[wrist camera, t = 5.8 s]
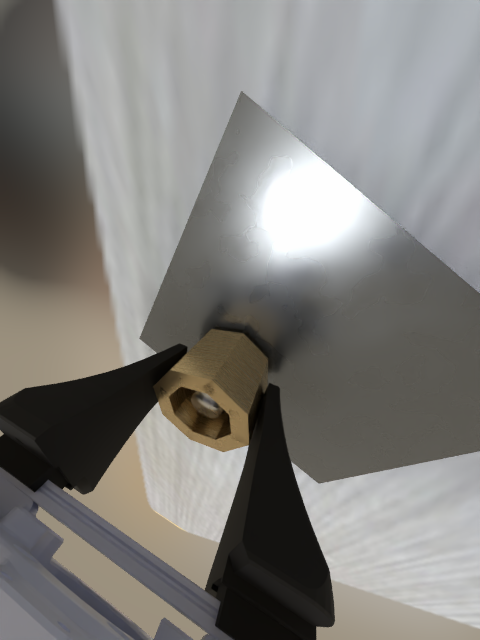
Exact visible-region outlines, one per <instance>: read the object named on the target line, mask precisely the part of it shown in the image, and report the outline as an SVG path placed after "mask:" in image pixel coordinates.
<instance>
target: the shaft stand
mask: <svg viewBox="0 0 480 640" xmlns="http://www.w3.org/2000/svg"><path fill="white" fill-rule="evenodd" d="M211 329H216V330H223V331H230V332H237V333H244V334H245V335H246V336H247V337H248V338H249V340H250V341H251V342H252V343H253V344H254V345H255V346H256V347H257V348H258V349H259V350H260V351H261V352H262V353H263V354H264V355H265V356H266V357H267V358H268V384H269V383H271V384H274V385H276V386H278V387H279V388H280V403H281V413H282V420H283V427H284V433H285V438H286V443H287V448H288V452H289V456H290V460H291V461H292V462H293V463H294V464H295V465H297V466H298V467H299V468H300V469H301V470H303V471H304V472H305V473H306V474H308V475H309V476H310V477H311V478H313V479H314V480H315V481H316V482H318V483H324V482H329V481H334V480H339V479H344V478H349V477H354V476H359V475H364V474H368V473H373V472H378V471H383V470H388V469H393V468H398V467H403V466H408V465H413V464H418V463H423V462H428V461H433V460H438V459H443V458H448V457H453V456H458V455H463V454H468V453H473V452H478V451H480V294H479V293H478V292H477V291H476V290H475V289H474V288H472V287H471V286H470V285H469V284H468V283H466V282H465V281H464V280H463V279H462V278H461V277H459V276H458V275H457V274H456V273H455V272H454V271H452V270H451V269H450V268H449V267H448V266H447V265H445V264H444V263H443V262H442V261H441V260H439V259H438V258H437V257H436V256H435V255H434V254H432V253H431V252H430V251H429V250H428V249H427V248H425V247H424V246H423V245H422V244H421V243H419V242H418V241H417V240H416V239H415V238H414V237H412V236H411V235H410V234H409V233H408V232H407V231H405V230H404V229H403V228H402V227H401V226H400V225H398V224H397V223H396V222H395V221H394V220H392V219H391V218H390V217H389V216H388V215H387V214H385V213H384V212H383V211H382V210H381V209H380V208H378V207H377V206H376V205H375V204H374V203H372V202H371V201H370V200H369V199H368V198H367V197H365V196H364V195H363V194H362V193H361V192H360V191H358V190H357V189H356V188H355V187H354V186H353V185H351V184H350V183H349V182H348V181H347V180H345V179H344V178H343V177H342V176H341V175H340V174H338V173H337V172H336V171H335V170H334V169H333V168H331V167H330V166H329V165H328V164H327V163H325V162H324V161H323V160H322V159H321V158H320V157H318V156H317V155H316V154H315V153H314V152H313V151H311V150H310V149H309V148H308V147H307V146H306V145H304V144H303V143H302V142H301V141H300V140H298V139H297V138H296V137H295V136H294V135H293V134H291V133H290V132H289V131H288V130H287V129H286V128H284V127H283V126H282V125H281V124H280V123H278V122H277V121H276V120H275V119H274V118H273V117H271V116H270V115H269V114H268V113H267V112H266V111H264V110H263V109H262V108H261V107H260V106H259V105H257V104H256V103H255V102H254V101H253V100H251V99H250V98H249V97H248V96H247V95H246V94H244V93H243V92H242V91H241V93H240V95H239V98H238V100H237V103H236V105H235V108H234V110H233V113H232V115H231V117H230V120H229V122H228V125H227V127H226V130H225V132H224V134H223V137H222V139H221V142H220V144H219V147H218V149H217V151H216V154H215V156H214V159H213V161H212V164H211V166H210V168H209V171H208V173H207V176H206V178H205V181H204V183H203V185H202V188H201V190H200V193H199V195H198V198H197V200H196V202H195V205H194V207H193V210H192V212H191V215H190V217H189V219H188V222H187V224H186V227H185V229H184V232H183V234H182V236H181V239H180V241H179V244H178V246H177V249H176V251H175V253H174V256H173V258H172V261H171V263H170V266H169V268H168V270H167V273H166V275H165V278H164V280H163V283H162V285H161V287H160V290H159V292H158V295H157V297H156V300H155V302H154V304H153V307H152V309H151V312H150V314H149V317H148V319H147V321H146V324H145V326H144V329H143V331H142V334H141V336H140V338H139V339H141V340H142V341H143V342H144V343H146V344H147V345H148V346H149V347H151V348H152V349H153V350H154V351H155V352H157V353H159V352H161V351H164V350H166V349H168V348H170V347H172V346H175V345H177V344H179V343H180V344H183V345H185V346H187V347H188V348H187V352H188V351H189V350H190V349H191V348H192V347H193V346H194V345H196V344H197V343H198V342H199V341H200V340H201V339H202V338H203V337H204V336H205V335H206V334H207V333H208V332H209V331H210V330H211ZM267 387H268V386H267ZM191 402H192V405H193V406H194V408H195V409H196V410H197V411H198V412H199V413H201V414H202V415H204V416H206V417H210V418H217V417H219V416H220V415H221V413H222V411H223V408H222V407H221V406H219V405H218V404H217V403H216V402H215V401H214V400H213V399H212V398H211V397H210V396H209V395H208V394H206V393H203V392H199V391H195V392H194V394H193V395H192V397H191Z"/></svg>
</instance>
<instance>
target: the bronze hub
mask: <svg viewBox="0 0 480 640" xmlns="http://www.w3.org/2000/svg"><path fill="white" fill-rule="evenodd" d="M267 386H268V358H267V357H266V356H265V355H264V354H263V353H262V352H261V351H260V350H259V349H258V348H257V347H256V346H255V345H254V344H253V343H252V342H251V341H250V340H249V338H248V337H247V336H246V335H245V334H244V333H237V332H230V331H223V330H216V329H211V330H210V331H209V332H208V333H207V334H206V335H205V336H204V337H203V338H202V339H201V340H200V341H199V342H198V343H197V344H196V345H194V346H193V347H192V348H191V349H190V350H189V351H188V352H187V354H186V355H185V356H184V357H183V358H182V359H181V360H180V361H179V362H178V363H177V364H176V365H175V366H174V367H173V368H171V369H170V370H169V371H168V372H167V373H166V374H165V375H164V376H163V377H162V378H161V379H160V380H159V381H158V382H157V383H156V384H155V385H154V386H153V388H154V391H155V394H156V397H157V399H158V402H159V405H160V408H161V411H162V414H163V415H164V416H165V417H166V418H167V419H168V420H169V421H171V422H172V423H173V424H174V425H175V426H176V427H177V428H178V429H179V430H180V431H181V432H182V433H184V434H185V435H186V436H187V437H188V438H189V439H191V440H193V441H196V442H198V443H201V444H204V445H206V446H209V447H211V448H214V449H217V450H219V451H222V452H225V451H229V450H233V449H236V448H240V447H243V446H247V445H250V441H251V438H252V435H253V432H254V428H255V425H256V422H257V418H258V414H259V410H260V406H261V403H262V399H263V396H264V393H265V391H266V389H267ZM195 391H199V392H203V393H206V394H208V395H209V396H210V397H211V398H212V399H213V400H214V401H215V402H216V403H217V404H218V405H219V406H221V407H222V408H223V411H222V413H221V415H220V416H219V417H217V418H210V417H206V416H204V415H202V414H201V413H199V412H198V411H197V410H196V409H195V408H194V406H193V405H192V402H191V397H192V395H193V394H194V392H195Z"/></svg>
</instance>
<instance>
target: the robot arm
mask: <svg viewBox="0 0 480 640" xmlns="http://www.w3.org/2000/svg"><path fill="white" fill-rule="evenodd" d="M187 348H188V347H187V346H185V345H183V344H180V343H179V344H177V345H175V346H172V347H170V348H168V349H166V350H164V351H161V352H159V353H157V354H155V355H152V356H150V357H148V358H145V359H143V360H140V361H138V362H135V363H133V364H130V365H127V366H125V367H122V368H119V369H116V370H112V371H109V372H106V373H102V374H98V375H94V376H90V377H86V378H82V379H78V380H73V381H68V382H63V383H57V384H51V385H44V386H37V387H31V388H25V389H23V390H21V391H19V392H18V393H16V394H14V395H12V396H10V397H9V398H7V399H5V400H3V401H2V402H0V430H1V431H2V432H3V433H4V435H2V436H1V437H0V640H193V639H192V638H191V637H189V636H188V635H187V634H185V633H184V632H183V631H181V630H180V629H179V628H178V627H176V626H175V625H174V624H172V623H171V622H170V621H169V620H167V619H166V618H163V619H162V620H161V623H160V625H159V627H158V630H157V633H156V635H155V638H154V639H153V638H151V637H150V636H149V635H148V634H147V633H146V632H144V631H143V630H142V629H141V628H140V627H138V626H137V625H136V624H135V623H134V622H132V621H131V620H130V619H129V618H128V617H126V616H125V615H124V614H123V613H122V612H121V611H119V610H118V609H117V608H116V607H115V606H113V605H112V604H111V603H110V602H108V601H107V600H106V599H105V598H103V597H102V596H101V595H100V594H98V593H97V592H96V591H95V590H93V589H92V588H91V587H89V586H88V585H87V584H86V583H84V582H83V581H82V580H81V579H79V578H78V577H76V576H75V575H74V574H73V573H72V572H70V571H69V570H68V569H66V568H65V567H64V566H63V565H61V564H60V563H59V562H57V561H56V560H55V559H53V558H52V556H53V554H54V553H55V552H56V551H57V550H58V548H59V547H60V546H61V544H62V543H63V538H61V537H60V536H59V535H57V534H56V533H55V532H54V531H52V530H51V529H50V528H49V527H47V526H46V525H45V524H43V523H42V522H41V521H40V520H38V519H37V518H36V513H37V511H38V506H40V507H41V508H42V509H44V510H45V511H46V512H48V513H49V514H50V515H52V516H53V517H54V518H56V519H57V520H58V521H60V522H61V523H62V524H63V525H65V526H66V527H67V528H69V529H70V530H72V531H73V532H74V533H75V534H77V535H78V536H79V537H81V538H82V539H83V540H85V541H86V542H87V543H89V544H90V545H91V546H93V547H94V548H95V549H97V550H98V551H100V552H101V553H102V554H103V555H105V556H106V557H107V558H109V559H110V560H111V561H112V562H114V563H115V564H116V565H118V566H119V567H121V568H122V569H123V570H124V571H126V572H127V573H128V574H130V575H131V576H132V577H134V578H135V579H136V580H138V581H139V582H140V583H142V584H143V585H144V586H146V587H147V588H148V589H150V590H151V591H152V592H154V593H155V594H156V595H158V596H159V597H160V598H162V599H163V600H164V601H166V602H167V603H168V604H170V605H171V606H172V607H173V608H175V609H176V610H177V611H179V612H180V613H181V614H183V615H184V616H185V617H187V618H188V619H189V620H191V621H192V622H193V623H195V624H196V625H197V626H199V627H200V628H201V629H203V630H204V631H205V632H207V633H208V634H209V635H208V634H207V635H205V636H203V638H202V639H201V640H316V626H317V627H332V626H333V624H334V622H335V615H334V600H333V592H332V584H331V578H330V571H329V568H328V565H327V563H326V560H325V558H324V556H323V553H322V551H321V548H320V546H319V543H318V541H317V538H316V536H315V533H314V530H313V528H312V525H311V522H310V520H309V517H308V514H307V511H306V509H305V506H304V503H303V500H302V497H301V494H300V491H299V488H298V484H297V481H296V478H295V475H294V471H293V468H292V464H291V460H290V456H289V452H288V448H287V443H286V438H285V433H284V427H283V420H282V413H281V403H280V388H279V387H278V386H276V385H274V384H271V383H269V384H268V387H267V389H266V391H265V393H264V396H263V399H262V403H261V406H260V410H259V414H258V418H257V422H256V425H255V428H254V432H253V435H252V438H251V441H250V445H249V447H248V451H247V456H246V460H245V464H244V468H243V471H242V474H241V478H240V481H239V484H238V487H237V491H236V494H235V497H234V500H233V503H232V507H231V510H230V513H229V516H228V519H227V522H226V525H225V529H224V532H223V535H222V538H221V541H220V544H219V547H218V550H217V554H216V556H215V560H214V563H213V566H212V569H211V572H210V575H209V578H208V581H207V585H206V588H205V590H203V589H202V588H200V587H199V586H197V585H196V584H195V583H193V582H192V581H190V580H189V579H188V578H186V577H185V576H183V575H182V574H180V573H179V572H178V571H176V570H175V569H173V568H172V567H171V566H169V565H168V564H166V563H165V562H164V561H162V560H161V559H159V558H158V557H156V556H155V555H153V554H152V553H151V552H150V551H148V550H147V549H145V548H144V547H142V546H141V545H140V544H138V543H137V542H135V541H134V540H132V539H131V538H130V537H128V536H127V535H125V534H124V533H123V532H121V531H120V530H118V529H117V528H116V527H114V526H113V525H111V524H110V523H108V522H107V521H106V520H104V519H103V518H101V517H100V516H99V515H97V514H96V513H94V512H93V511H92V510H90V509H89V508H87V507H86V506H85V505H83V504H82V503H80V502H79V501H78V500H76V499H75V498H73V497H72V496H70V495H69V494H68V493H66V492H65V491H63V490H62V489H63V488H64V487H66V488H68V489H69V490H72V489H73V488H74V489H76V490H77V491H78V492H80V493H81V494H87V493H89V492H91V491H93V490H94V488H95V487H96V485H97V484H98V482H99V480H100V479H101V477H102V476H103V474H104V473H105V471H106V470H107V468H108V467H109V465H110V464H111V462H112V461H113V459H114V458H115V457H116V455H117V454H118V452H119V451H120V450H121V448H122V447H123V445H124V444H125V442H126V441H127V440H128V438H129V437H130V436H131V434H132V433H133V432H134V430H135V429H136V428H137V426H138V425H139V424H140V422H141V421H142V420H143V419H144V417H145V416H146V415H147V413H148V412H149V411H150V410H151V409H152V408H153V407H154V405H155V404H156V403H157V402H158V399H157V397H156V394H155V391H154V388H153V386H154V385H155V384H156V383H157V382H158V381H159V380H160V379H161V378H162V377H163V376H164V375H165V374H166V373H167V372H168V371H169V370H170V369H171V368H173V367H174V366H175V365H176V364H177V363H178V362H179V361H180V360H181V359H182V358H183V357H184V356H185V355H186V354H187Z"/></svg>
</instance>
